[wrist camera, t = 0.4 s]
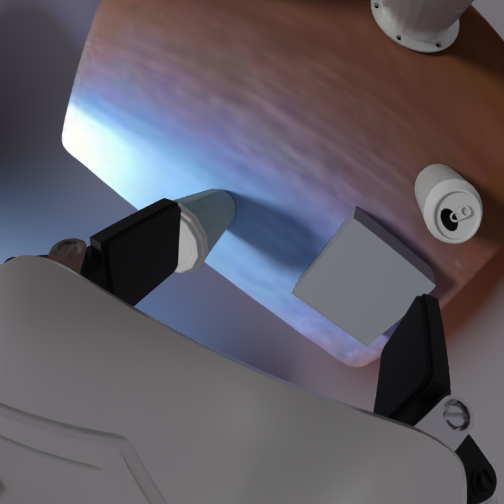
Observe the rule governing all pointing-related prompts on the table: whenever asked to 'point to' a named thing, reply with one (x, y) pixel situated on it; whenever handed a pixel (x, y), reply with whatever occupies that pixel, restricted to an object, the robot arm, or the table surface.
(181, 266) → the disposable coffee cup
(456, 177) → the can
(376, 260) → the grey block
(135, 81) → the table surface
